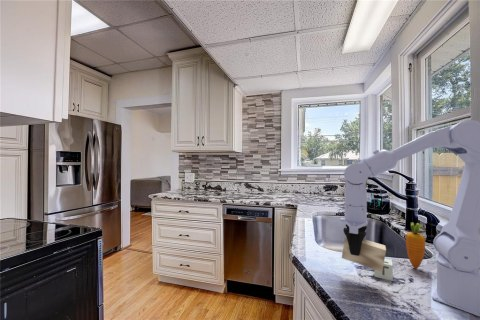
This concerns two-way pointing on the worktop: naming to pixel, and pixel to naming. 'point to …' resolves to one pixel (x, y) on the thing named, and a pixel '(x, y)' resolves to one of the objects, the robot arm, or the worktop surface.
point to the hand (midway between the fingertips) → (355, 252)
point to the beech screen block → (367, 254)
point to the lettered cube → (385, 270)
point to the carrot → (415, 245)
